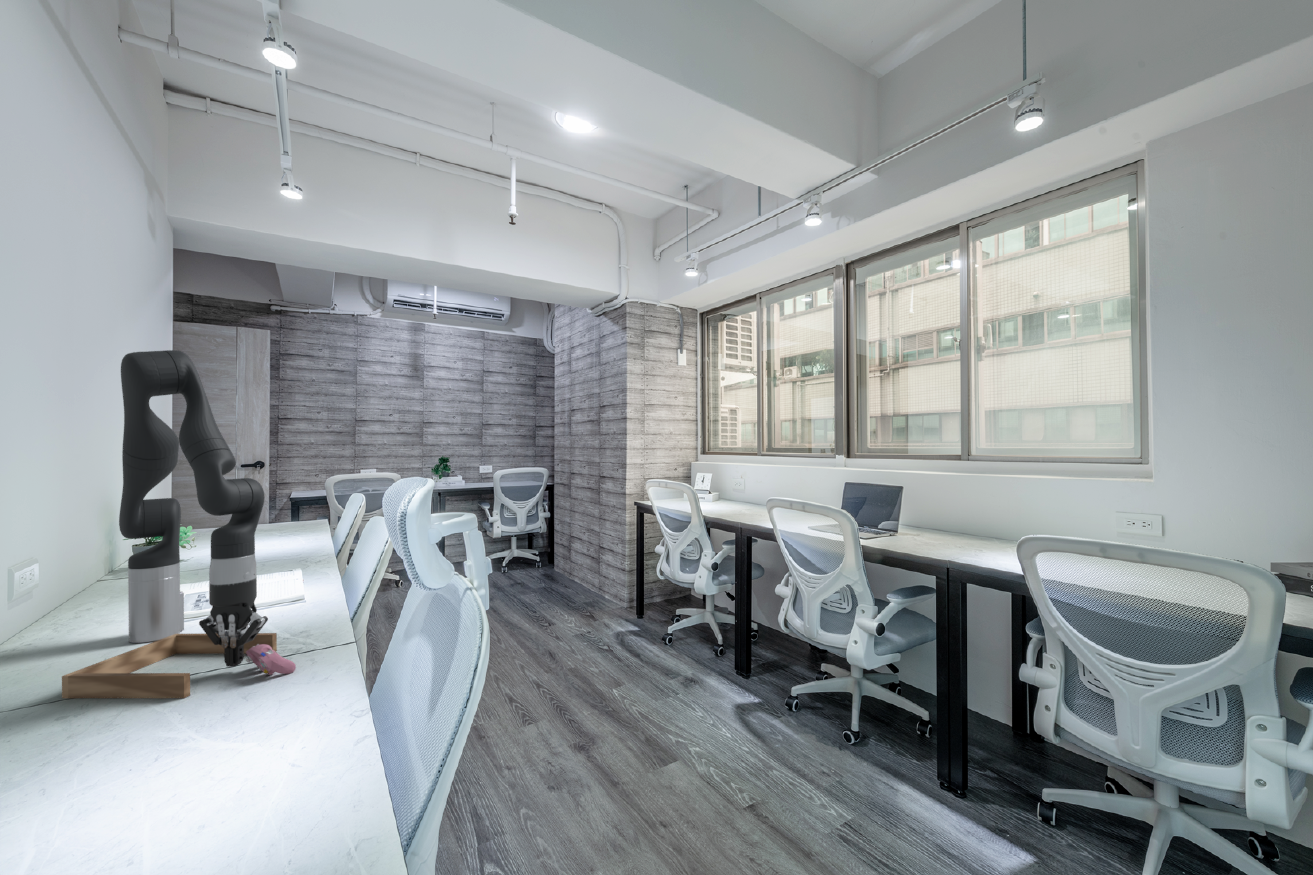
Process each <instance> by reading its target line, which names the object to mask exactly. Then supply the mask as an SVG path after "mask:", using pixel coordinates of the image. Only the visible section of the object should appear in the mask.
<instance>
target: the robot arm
mask: <svg viewBox="0 0 1313 875" xmlns="http://www.w3.org/2000/svg"><path fill="white" fill-rule="evenodd" d="M120 383H121V391H122V400H123V416H124V417H123V436H122V451H121V452H122V455H121V456H122V459H121V460H122V461H121V462H122V492H121V501H120V508H119V516H118V518H119V519H118V525H119V526H118V527H119V531H120V533H121V535H122V537H123V538H125V539H129V540H130V539H131V540H132V539H133V540H137V539H138V540H139V539H148V538H157V537H158V538H159V537H162V538H161V540H160V541H159V542H158V543H156V544H155V545H153V546H151V547H149V548H147V549H145V550H142V551H139V552H136V553H134V554H132V555H130V556H129V557H128V559H127V568H128V569H127V574H128V575H127V578H128V582H127V584H128V585H127V586H128V587H127V588H128V589H127V590H128V591H127V592H128V597H127V601H128V642H129V643H131V644H132V643H134V644H135V643H137V644H138V643H139V644H140V643H148V642H149V643H151V642H155V641H158V640H160V639H163V638H166V637H169V636H171V635H174V634H181V632H182V631H185V600H184V599H185V597H184V594H185V592H183V591H181V565H180V564H181V563H180V560H181V558H180V556H181V555H180V536H181V535H180V534H181V533H180V532H181V522H182V518H181V517H182V512H181V511H182V510H181V505H180V504H181V503H180V502H179V500H178V499H176V498H174V497H166V498H165V497H164V498H150V499H148V498H145V497H146V496H147V495H148V493H149V492H150V491H152V489H154V488H155V487H156V486H158V484H160V483H161V482H162V481H163V480H165V479H166V478H167V477H169V475H170V474H172V472H173V471H174V470H175V469H176V467H177V465H178V460H179V449H181V451H182V453H183V455H184V456H185V459H186V461H187V462H188V464H189V466H190V467H191V469H192V471H193V476H194V481H195V488H196V497H197V501H198V502H197V503H198V504H199V506H200V508H201V509H203V511H204V512H206V513H207V514H209V515H211V516H217V517H218V516H226V515H227V516H228V515H231V516H230V518H229V522H227V523H226V524H225V525H222V526H220V527H218V528H215V529H214V530H213V531H212V532H211V535H210V564H209V570H208V571H209V572H208V574H209V575H208V577H209V579H208V581H209V582H208V583H209V584H208V585H209V586H208V589H209V590H208V591H209V593H208V594H209V600H208V601H209V602H208V603H209V605H210V606H211V607H212V608H211V609H210V612H209V615H208V616H207V617H206V618H204V619H201V620H199V622H198V625H199V626H200V628H201V629H202V630H203V631H204V634H207V635H208V637H209V638H210V639H211V641H212V642H213V643H214V645H218V644H219V645H222V647H223V648H224V654H223V656H224V660H223V661H224V663H225V665H226V667H228V668H229V667H233V668H234V667H236V666H239V665H240V664H242V662H243V661H244V658H245V657H244V655H245V653H244V644H246V643H248V642H250V641H252V640H254V638H255V637H256V635H257V634H258V633H260V632H261V630H262V629H263V628H264V626H265V625H266V623H267V622H268V621H269V618H268V616H266V615H265V616H262V615H260V614H258V613H257V612H258V611H257V607H256V605H255V602H256V598H257V593H258V591H257V582H258V581H257V578H258V576H257V575H258V574H257V560H256V559H257V558H256V545H255V544H256V540H255V539H256V538H255V534H256V530H257V529H258V528H257V527H258V525H259V520H260V518H261V514H262V511H263V507H264V503H265V498H266V497H265V492H264V488H263V485H261V483H260V482H259V481H258V480H257V479H254V478H248V477H246V478H245V477H243V478H227V479H225V477H224V475H227V474H229V473H230V472H232V471H233V470H234V469H235V467H236V464H237V461H236V457H235V456H234V454H233V452H232V450H231V448H230V447H229V445H228V443H227V442H226V440H225V438H224V436H223V435H222V432H221V430H220V429H219V427H218V425H217V422H216V420H215V417H214V415H213V411H212V408H211V405H210V403H209V399H208V397H207V393H206V391H205V389H204V386H203V383H202V381H201V378H200V376H199V373H198V370H197V368H196V366H195V364H194V362H193V361H192V359H191V358H190V357H189V355H188V354H187V353H185V352H184V351H181V350H173V349H172V350H170V349H169V350H151V351H150V350H149V351H147V350H146V351H136V352H135V351H133V352H129V353H127V354H125V355H124V356H123V357H122V359H121V363H120ZM179 394H181V395H182V396H183V397H184V400H185V402H186V404H185V405H186V409H185V414H184V417H183V419H182V422H181V426H180V429H179V434H178V435H177V434H176V432H175V431H174V429H172V428H171V427H170V426H169V425H168V424H167V423H166V422H165V421H164V420H162V419H161V418H160V417H159V416H158V415H156V413H155V412H154V411H153V410H152V409H151V406H150V400H151V398H153V397H160V396H161V397H162V396H169V395H171V396H172V395H179ZM179 447H180V448H179ZM217 634H218V636H219V637H218V636H217ZM229 636H230V637H229Z"/></svg>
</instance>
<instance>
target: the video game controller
mask: <svg viewBox="0 0 1313 875" xmlns="http://www.w3.org/2000/svg"><path fill="white" fill-rule="evenodd" d="M245 655H246V656H247V657H246V658H245V661H246V662H247V663H249V664H251V662H252V663H253V664H254V665H255V666H256V667H257V668H258V669H259V670H260V671H261V672H263V673H264V674H267V675H269V676H271V675H273V674H275V673H278V674H280V675H281V674H283V675H289V674H292V673H294V672H295V671H296V668H297V667H296V665H297V664H295V662H293V661H292V660H289V659H287V658H285V657H282V656H281V655H280V654H279V653H278V652H277V651H276V652H275V651H274V650H272V648H271V646H269V645H266V644H261V645H259V644H257V645H256V646H253V647H252V648H250V649H249V650H247V651H246V653H245Z"/></svg>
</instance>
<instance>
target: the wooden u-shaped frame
mask: <svg viewBox="0 0 1313 875" xmlns="http://www.w3.org/2000/svg"><path fill="white" fill-rule="evenodd" d="M217 636H218V634H217ZM218 637H219V636H218ZM229 637H230V636H229ZM277 639H278V637H277V632H259V633H258V634H257V635H256V637H255V638H254V640H252V641H250V642H248V643H246V644H244V653H243V654H246V651H247V650H249V649H250V648H252V647H253V646H256V645H257V644H259V645H261V644H266V645H269V646H271V648H272V650H274V651H275V652H276V653H277V651H278V645H277V644H278V643H277V642H278V641H277ZM176 654H177V655H180V654H181V655H183V654H184V655H186V654H187V655H191V654H193V655H194V654H195V655H198V654H204V655H206V654H208V655H209V654H210V655H212V654H219V655H220V654H221V655H222V654H223V655H224V648H223V647H222V645H219V644H218V645H214V643H213V642H212V641H211V639H210V638H209V637H208V635H207V634H206V633H178V634H174V635H171V636H169V637H166V638H163V639H160V640H156V641H151V642H149V643H148V644H147V643H146V644H144V645H142V646H139V647H136V648H134V649H132V650H129V651H125V652H123V653H120V654H118V655H116V656H112V657H110V658H107V659H104V660H102V661H99V662H96V663H93V664H91V665H89V666H85V667H82V668H80V669H77V670H75V671H72V672H69V673H67V674H64V675H62V676H61V699H186V698H187V697H190V696H191V673H190V672H163V673H162V672H156V673H155V672H153V673H152V672H149V673H148V672H147V673H146V672H143V673H139V672H136V671H138V670H140V669H143V668H145V667H147V666H150V665H153V664H155V663H157V662H160V661H162V660H165V659H167V658H170V657H172V656H175V655H176ZM133 672H135V673H133Z"/></svg>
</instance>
